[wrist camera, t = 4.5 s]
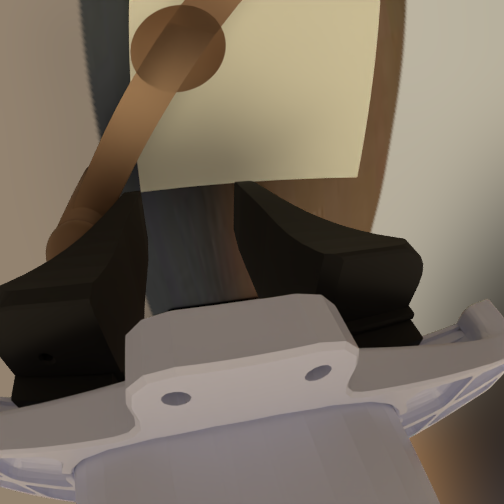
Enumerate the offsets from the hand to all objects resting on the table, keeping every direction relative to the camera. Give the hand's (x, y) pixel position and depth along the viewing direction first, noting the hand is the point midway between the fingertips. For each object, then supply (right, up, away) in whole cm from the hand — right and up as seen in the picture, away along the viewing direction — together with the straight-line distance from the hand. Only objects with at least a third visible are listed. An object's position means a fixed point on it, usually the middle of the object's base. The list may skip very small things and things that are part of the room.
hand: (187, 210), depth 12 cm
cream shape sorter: (+2, +14, +1) cm, 14 cm away
